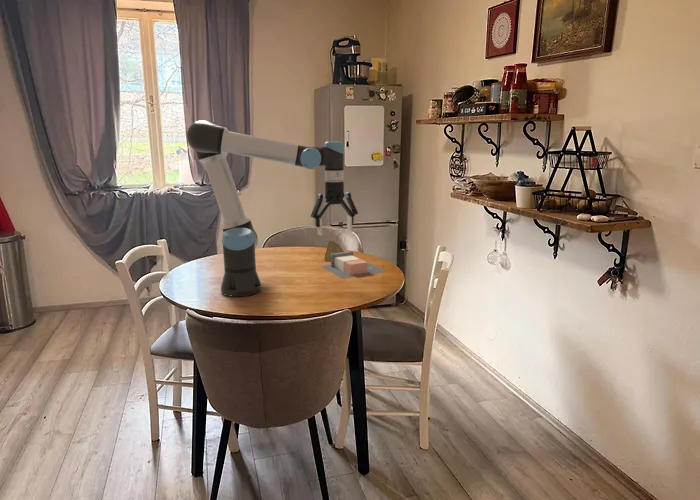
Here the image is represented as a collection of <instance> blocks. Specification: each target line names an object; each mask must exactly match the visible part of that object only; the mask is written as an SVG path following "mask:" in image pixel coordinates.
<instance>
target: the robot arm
mask: <svg viewBox="0 0 700 500" xmlns="http://www.w3.org/2000/svg"><path fill="white" fill-rule="evenodd" d="M186 139H187V142H188V145H189V146H190V147H191V148H192V149H193V150H194V151H195V154H196V156H197V159H198V161H199V162H201V163H202V164H203V165H204V168H205V170H206V173H207V176H208V178H209V179H208V180H209V181H210V182H209V183H210V185H211V188H212V191H213V194H214V197H215V200H216V203H217V205H218V208H219V212H220V214H221V218H222V221H223V225H222V227H221V230H222V239H221V242H222V252H223V253H222V254H223V267H224V273H223V277H222V282H221V285H220V292H222V293H223V294H226V295H232V296H242V297H246V296H245V295H249V296H253V295H252V294H254V295H257V294H258V293H261V292H262V283H261V279H260V277H259V275H258V272H257V263H256V248H257V246H258V241H259V239H258V234H257V232H256V231H255V229H254V227H253V223H252V221H251V218H249V217H247V216H246V214H245V212H244V209H243V208H244V207H243V206H242V201H241V199H240V196H239V193H238V190H237V186H236V184H235V180H234V178H233V175H232V172H231V169H230V166H229V165H230V164H229V163H228V160H227V157H228V154H233V155H238V156H242V157H249V158H252V159H253V158H254V159H258V160H260V159H261V160H264V161H269V162H275V163H280V164H286V165H291V166H296V167H300V168H305V169H308V170H314V169H316V168H317V167H324V180H325V182H324V190H325V192H324V194H322V193H318V194H317V199H316V201H315V202H316V203H314V207H313V209H312V211H311V213H310V218H313V219H315V220H314V223H315V227H316V228H317V235H318V236H321V237H322V236H323V219H322V217H323V215H324V213H325V212H326V210H328V208H329V206H331V205H332V206H333V205H340V206H341V207H342V208H343V209H344V211H345V212H346V213H347V214H348V215H347V216H346V231H347V232H348V233H352V231H353V225H354V221H355V219H354V217H355V216H356V215H358V214H359V212H358V210H357V207H356V205H355V202H354V201H353V199H352V193H351V192H350V191H349V192H348V191H346V192H344V190H345V182H344V180H345V175H344V174H345V171H344V168H345V167H344V165H345V164H344V163H345V152H344V143H343V142H342V141H325V142H324V145H323V146H305V145H299V144H295V143H290V142H285V141H280V140H275V139H270V138H265V137H260V136H255V135H251V134H244V133H241V132H239V133H238V132H235V131H229V129H228V128H227V127H225V126H220V125H219V124H218V123H216V122H214V121H212V120H204V119H203V120H202V119H201V120H196V121H194V122H193V123H191V124H190V126H189V127H188V129H187V131H186ZM344 198H345V199H346V201H347V202H346V201H345V200H344ZM323 200H324V202H323ZM346 203H347V204H348V205H347V204H346ZM321 205H322V206H321ZM222 293H221V294H222ZM256 293H257V294H256ZM223 294H222V295H223ZM226 295H225V296H226ZM232 296H231V297H232Z"/></svg>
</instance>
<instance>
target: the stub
mask: <svg viewBox="0 0 700 500" xmlns="http://www.w3.org/2000/svg"><path fill="white" fill-rule="evenodd" d="M367 263H368V262H367V261H365V260H363V259H360V260H354V261H347V262H345V272H346V273H347V274H349V275H355V274H362V273H367Z"/></svg>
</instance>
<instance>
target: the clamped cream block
mask: <svg viewBox="0 0 700 500" xmlns="http://www.w3.org/2000/svg"><path fill="white" fill-rule="evenodd" d="M354 260H361V259H360V258H358V257H357V256H354V252H353V251H352V250H349V251H344V252H341V253H332V254H331V261H330V265H331V267H336V268H338V269H340V270H342V271H345V262H347V261H354Z"/></svg>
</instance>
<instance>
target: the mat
mask: <svg viewBox="0 0 700 500" xmlns="http://www.w3.org/2000/svg"><path fill="white" fill-rule="evenodd" d="M320 267H321V268H323V269H325V270H327V271H328V272H331V273H332V274H334V275H336V276H337V277H339V278H341V279H348V278H354V277H355V278H356V277H361V276H368V275H372V274H373V275H374V274H380V273H387V271H386V270H384V269H381V268H380V267H378V266H375V265H373V264H371V263H369V262H367V273H362V274H355V275H349V274H347V273H346V272H345V271H342V270H340V269H338V268H336V267H331V264H326V265H320Z"/></svg>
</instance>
